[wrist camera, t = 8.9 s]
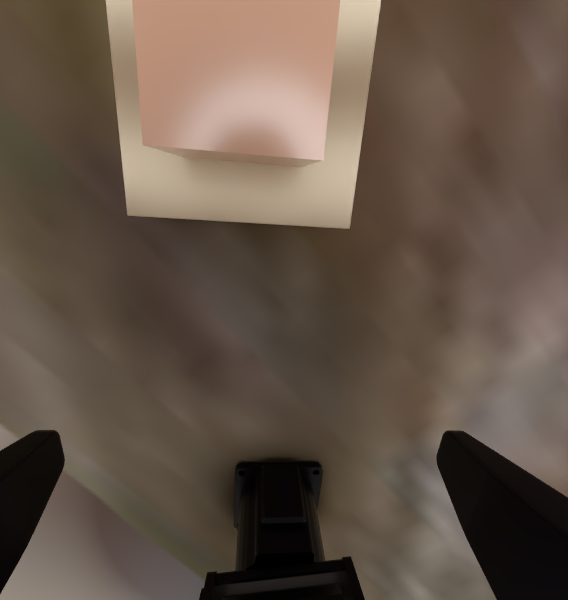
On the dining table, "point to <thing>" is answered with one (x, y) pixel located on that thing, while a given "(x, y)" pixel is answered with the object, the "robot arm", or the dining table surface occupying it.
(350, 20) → the base
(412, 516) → the dining table surface
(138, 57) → the cube
